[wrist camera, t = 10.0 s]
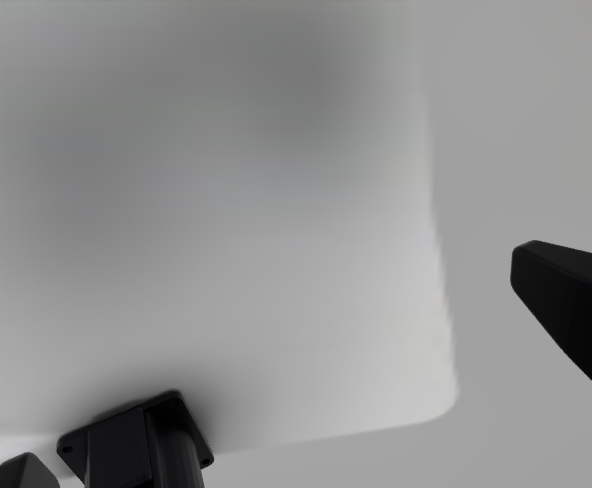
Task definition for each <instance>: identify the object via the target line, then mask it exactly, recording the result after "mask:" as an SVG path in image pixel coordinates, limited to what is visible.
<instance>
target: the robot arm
mask: <svg viewBox="0 0 592 488" xmlns="http://www.w3.org/2000/svg"><path fill="white" fill-rule="evenodd" d="M510 282H511V286H512V288H513V290H514V292H515V293H516V294H517V295H518V297H519V298H520V299H521V300H522V302H523V303H524V304H525V305H526V307H527V308H528V309H529V310H530V311H531V313H532V314H533V315H534V316H535V318H536V319H537V320H538V321H539V322H540V324H541V325H542V326H543V327H544V329H545V330H546V331H547V332H548V334H549V335H550V336H551V337H552V339H553V340H554V341H555V342H556V343H557V345H558V346H559V347H560V348H561V349H562V350H563V352H564V353H565V354H566V355H567V356H568V357H569V358H570V359H571V360H572V361H573V362H574V363H575V364H576V365H577V366H578V367H579V368H580V369H581V370H582V371H583V372H584V373H585V374H586V375H587V376H588V377H589V378H590V379H591V380H592V253H590V252H585V251H581V250H576V249H572V248H568V247H564V246H559V245H555V244H551V243H546V242H542V241H537V240H532V241H529V242H526V243H524V244H522V245H519V246H517V247H515V248H514V250H513V252H512V261H511V275H510ZM172 401H174V402H172ZM56 451H57V454H58V455H59V456H60V457H61V458H62V459H63V461H64V462H65V463H66V464H67V465H68V466H69V468H70V469H71V470H72V471H73V472H74V473H75V474H76V476H77V477H78V478H79V479H80V480H81V481H82V482H83V484H84V485H85V488H204V483H203V478H202V473H201V469H203V468H205V467H208V466H209V465H211V464H212V463H213V462H214V457H213V452H212V450H211V449H210V447H209V445H208V443H207V441H206V439H205V437H204V436H203V434H202V432H201V430H200V428H199V426H198V424H197V423H196V421H195V419H194V417H193V415H192V413H191V411H190V409H189V408H188V406H187V404H186V402H185V400H184V398H183V396H182V395H181V394H180V393H179V392H170V393H167V394H165V395H163V396H160V397H158V398H156V399H153V400H151V401H148V402H146V403H144V404H141V405H139V406H137V407H134V408H132V409H129V410H127V411H125V412H122V413H120V414H117V415H115V416H113V417H110V418H108V419H106V420H103V421H101V422H98V423H96V424H94V425H91V426H89V427H87V428H84V429H82V430H79V431H77V432H75V433H72V434H70V435H68V436H65V437H63V438H61V439H60V440H59V441H58V442H57V450H56ZM0 488H60V485H59V483H58V480H57V479H56V477H55V476H54V475H53V474H52V472H51V471H50V470H49V469H48V468H47V467H46V466H45V465H44V464H43V463H42V462H41V461H40V459H39V458H38V457H37V456H36V455H35V454H33V453H31V452H27V453H23V454H21V455H18V456H16V457H14V458H11V459H9V460H7V461H5V462H3V463H2V464H1V465H0Z"/></svg>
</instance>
